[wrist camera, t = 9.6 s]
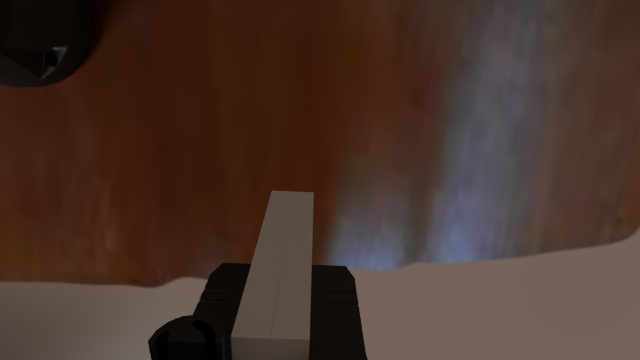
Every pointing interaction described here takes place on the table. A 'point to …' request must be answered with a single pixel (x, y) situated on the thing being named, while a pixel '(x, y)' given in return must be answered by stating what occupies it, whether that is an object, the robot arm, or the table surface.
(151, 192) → the table surface
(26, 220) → the table surface
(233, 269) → the robot arm
